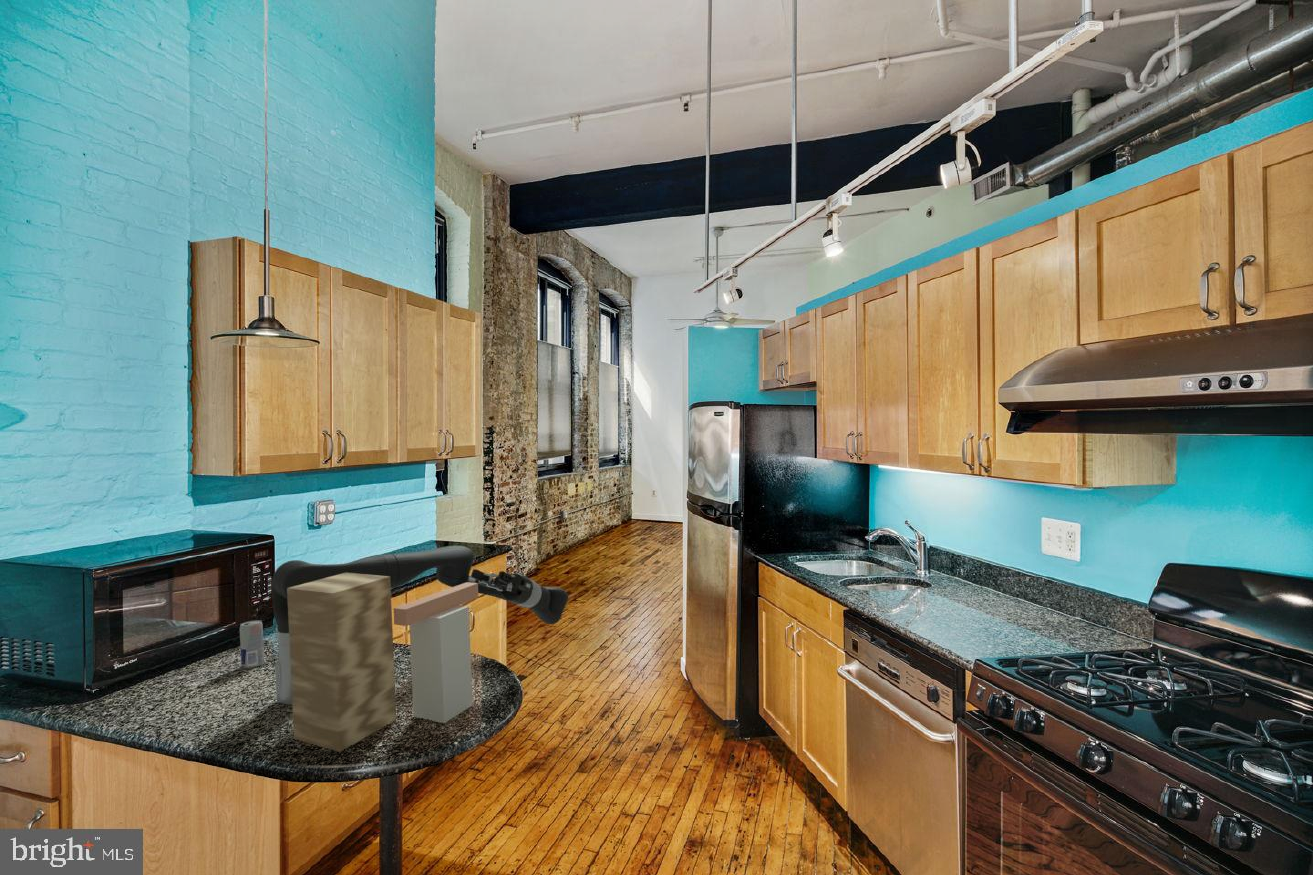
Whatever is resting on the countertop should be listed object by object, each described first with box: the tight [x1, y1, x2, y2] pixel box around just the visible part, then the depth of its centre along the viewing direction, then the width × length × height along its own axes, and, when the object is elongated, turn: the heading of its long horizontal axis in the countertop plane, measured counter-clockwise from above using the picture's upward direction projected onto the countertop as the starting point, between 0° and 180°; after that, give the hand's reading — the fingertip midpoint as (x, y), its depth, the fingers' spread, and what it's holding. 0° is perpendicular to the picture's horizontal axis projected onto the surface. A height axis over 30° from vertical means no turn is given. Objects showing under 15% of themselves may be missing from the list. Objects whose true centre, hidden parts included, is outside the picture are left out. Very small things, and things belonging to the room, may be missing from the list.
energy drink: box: [239, 619, 265, 669], centre depth 168 cm, size 5×5×12 cm
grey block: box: [409, 605, 474, 724], centre depth 135 cm, size 9×9×23 cm
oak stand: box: [287, 573, 397, 753], centre depth 128 cm, size 14×14×32 cm
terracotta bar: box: [393, 582, 479, 627], centre depth 136 cm, size 22×4×4 cm, turn 155°
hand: (486, 573), depth 150 cm, fingers open, 8 cm apart
